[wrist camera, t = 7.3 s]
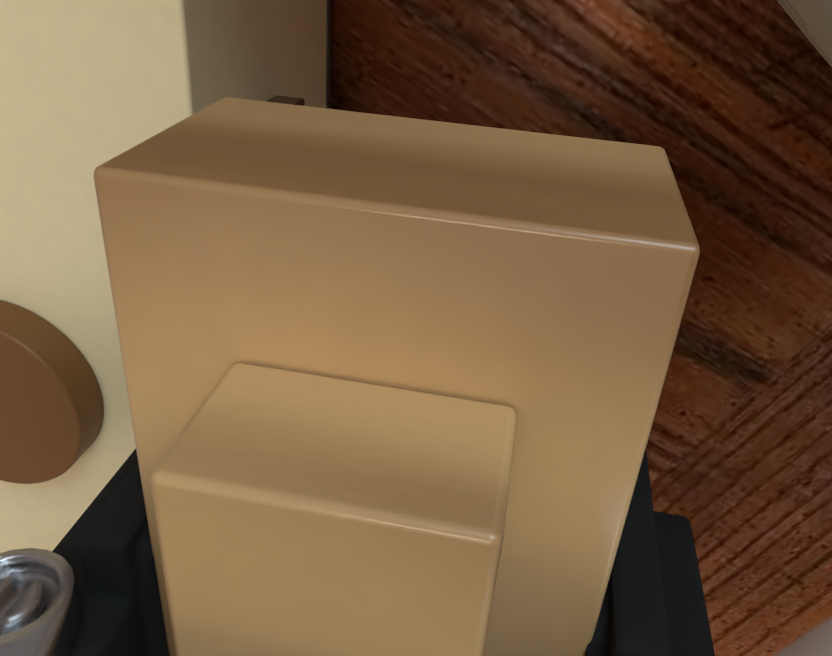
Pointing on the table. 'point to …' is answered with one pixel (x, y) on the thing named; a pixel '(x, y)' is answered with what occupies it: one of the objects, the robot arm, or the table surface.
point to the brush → (389, 374)
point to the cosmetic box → (813, 22)
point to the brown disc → (43, 399)
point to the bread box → (96, 144)
